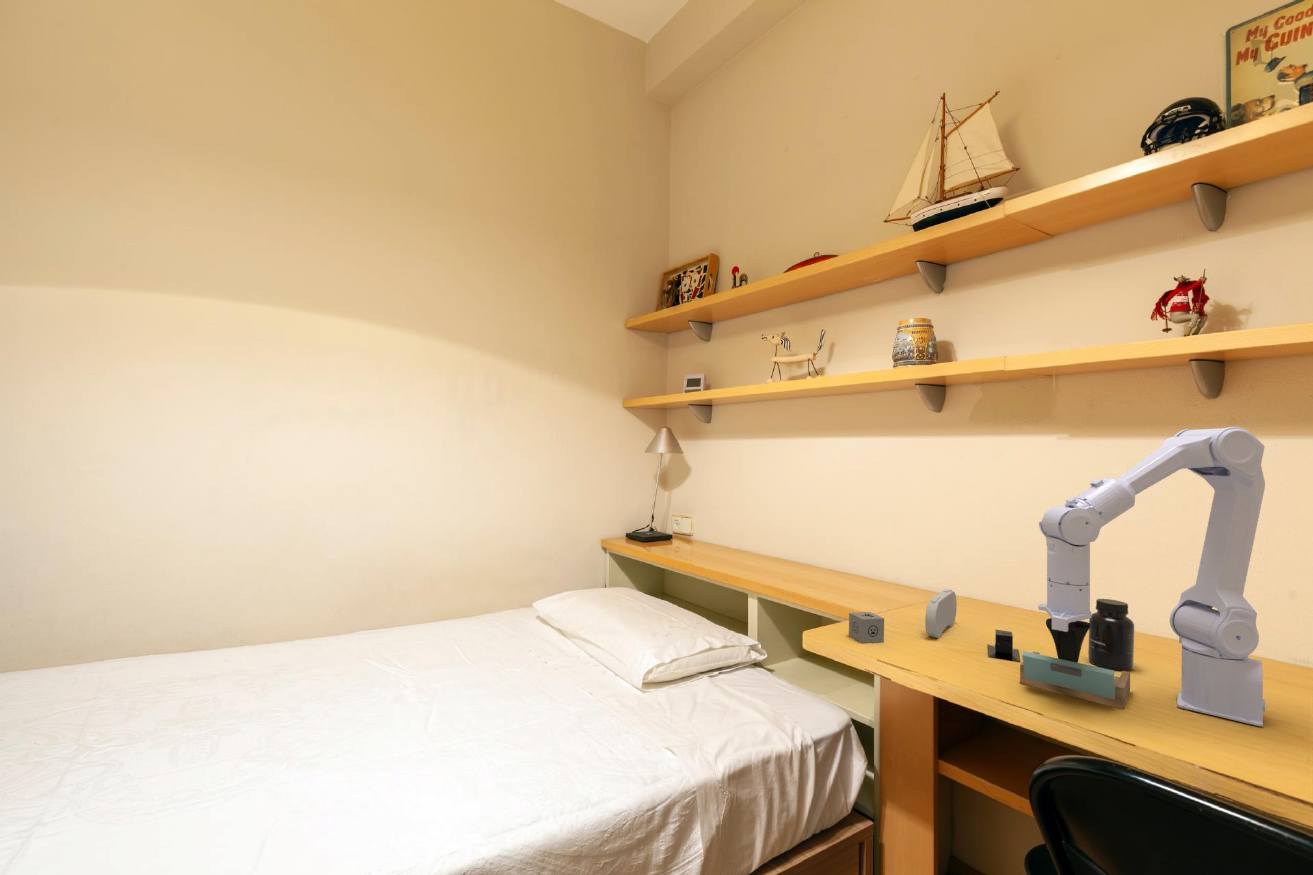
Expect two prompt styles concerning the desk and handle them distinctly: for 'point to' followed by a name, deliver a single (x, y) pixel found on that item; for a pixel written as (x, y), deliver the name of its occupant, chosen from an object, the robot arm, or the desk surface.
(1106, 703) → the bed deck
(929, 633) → the game controller
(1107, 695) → the panel
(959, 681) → the desk surface
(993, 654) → the black upright stand
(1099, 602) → the supplement bottle
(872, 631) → the dice cube
